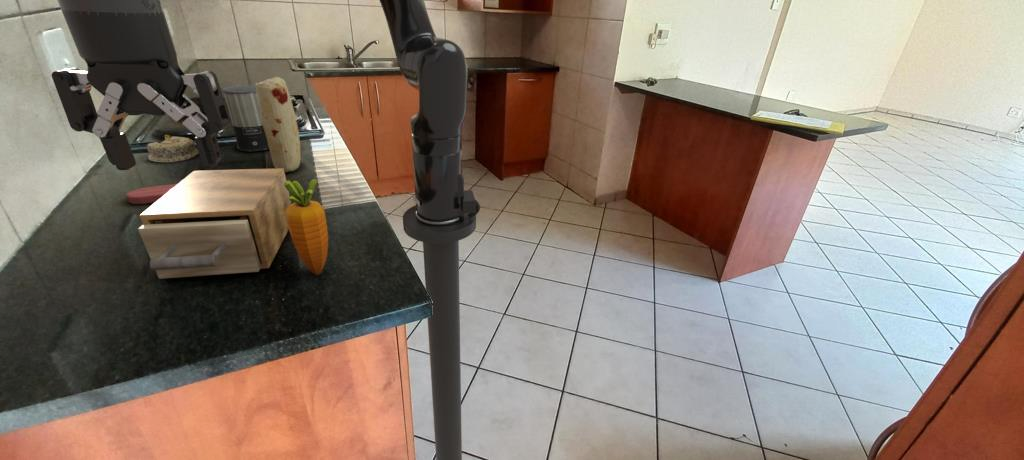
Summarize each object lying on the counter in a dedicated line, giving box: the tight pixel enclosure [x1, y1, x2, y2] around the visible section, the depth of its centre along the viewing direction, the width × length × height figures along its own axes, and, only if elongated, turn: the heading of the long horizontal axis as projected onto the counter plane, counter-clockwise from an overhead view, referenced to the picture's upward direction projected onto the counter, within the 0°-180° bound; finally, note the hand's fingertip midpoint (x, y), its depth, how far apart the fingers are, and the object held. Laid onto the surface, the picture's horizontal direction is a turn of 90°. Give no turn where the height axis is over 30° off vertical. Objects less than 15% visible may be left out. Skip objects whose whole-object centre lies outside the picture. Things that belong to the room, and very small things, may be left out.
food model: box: [255, 76, 302, 173], centre depth 94 cm, size 10×7×20 cm
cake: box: [146, 134, 199, 163], centre depth 101 cm, size 10×10×5 cm
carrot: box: [284, 178, 329, 276], centre depth 58 cm, size 5×5×15 cm
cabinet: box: [139, 168, 293, 270], centre depth 66 cm, size 17×14×10 cm
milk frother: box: [221, 84, 270, 152], centre depth 111 cm, size 14×16×15 cm
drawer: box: [137, 215, 261, 280], centre depth 62 cm, size 20×12×8 cm, turn 12°
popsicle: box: [126, 183, 178, 205], centre depth 83 cm, size 5×2×15 cm
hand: (170, 167), depth 48 cm, fingers open, 8 cm apart
